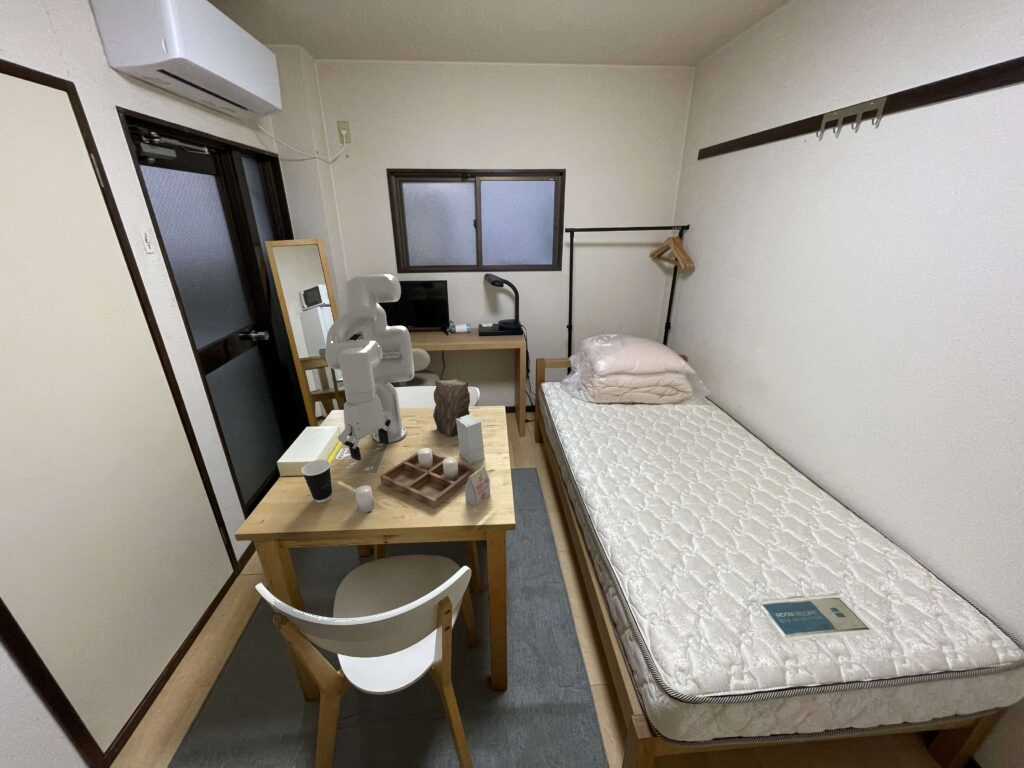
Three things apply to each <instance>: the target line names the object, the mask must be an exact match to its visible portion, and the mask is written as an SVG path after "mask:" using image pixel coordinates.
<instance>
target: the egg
mask: <svg viewBox="0 0 1024 768" xmlns="http://www.w3.org/2000/svg"><path fill="white" fill-rule="evenodd" d="M373 495H374V494H373V490H372V487H371V486H370V485H360V486H359V487H357V488H356V489H355V490H354V496H355V497H354V498H355V501H356V506H357V509H358V512H360V513H368V512H370V511H372V510H374V508H375V502H374V497H373Z"/></svg>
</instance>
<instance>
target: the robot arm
mask: <svg viewBox="0 0 1024 768" xmlns="http://www.w3.org/2000/svg"><path fill="white" fill-rule="evenodd" d="M345 289H346V305H345V307H346V308H345V312H344V313H343V314H342V315H340V316H339V317H338V318H337V319H336V320H335V321H334V322H333V324H331V326H330V327H329V329H328V331H327V334H326V339H325V340H326V341H325V342H326V343H325V360H326V363H327V365H328V366H329V368H331V369H333V370H337V371H339V370H340V373H341V377H342V378H341V379H342V383H343V387H344V394H345V400H346V401H345V402H344V403H343V421H344V430H342V432H341V433H340V434H339V435H338V436H337V440H338V441H339V442H340V443H341V444H342V445H344V446H346V447H348V448H349V454H350V457H351V458H352V459H354V460H356V461H359V462H360V461H361V460H362V455H361V449H360V447H359V446H358V445H359V442H360V440H361V439H364V438H366V437H367V436H370V435H371V434H372V436H373V440H374V441H376V442H377V443H380V444H383V445H389V444H390V443H395V442H398V441H400V440H402V439H403V438H405V437H406V436H407V433H408V430H407V428H406V427H405V426H404V425H403V423H402V416H401V410H400V409H401V407H400V402H399V401H400V399H399V393H398V391H397V389H396V388H395V387H394V385H393V384H392V383H400V382H401V383H402V382H408V381H409V382H410V381H411V380H412V379H414V377H415V366H414V357H413V349H412V347H413V346H412V342H411V341H412V340H411V335H410V332H409V330H408V327H406V326H403V325H392V326H391V325H390V326H389V325H388V321H387V313H386V311H385V309H384V308H383V307H382V306H381V305H380V303H396V302H398V301H399V300H400V298H401V297H402V296H401V294H402V287H401V283H400V281H399V279H398V278H397V277H396V276H395V275H392V274H388V273H386V274H385V273H380V274H378V273H377V274H362V275H356V276H353V277H351V278H350V279H349V280H347V281H346V283H345ZM361 331H362V335H363V340H360V339H359V340H345V339H346V338H348V337H350V336H352V335H354V334H356V333H360V332H361ZM344 340H345V341H344ZM394 353H397V354H399V355H394V356H391V355H390V356H383V354H394ZM347 437H348V439H347Z"/></svg>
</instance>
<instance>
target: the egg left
mask: <svg viewBox="0 0 1024 768" xmlns="http://www.w3.org/2000/svg"><path fill="white" fill-rule="evenodd" d="M417 452H418V460H419V467H420V468H423V469H425V470H427V471H429V470H430V469H431V468H433V458H432V452H433V450H432V449H431V448H429V447H423V448H420V449H419V450H418V451H417Z"/></svg>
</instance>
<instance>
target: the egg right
mask: <svg viewBox="0 0 1024 768" xmlns="http://www.w3.org/2000/svg"><path fill="white" fill-rule="evenodd" d="M457 461H458V459H457V458H456V457H453V456H452V457H447V458H446V459H444V460H443V471H444V478H447V479H449V480H452V481H456V480H457V479H458V478H459V474H458V463H457Z"/></svg>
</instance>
